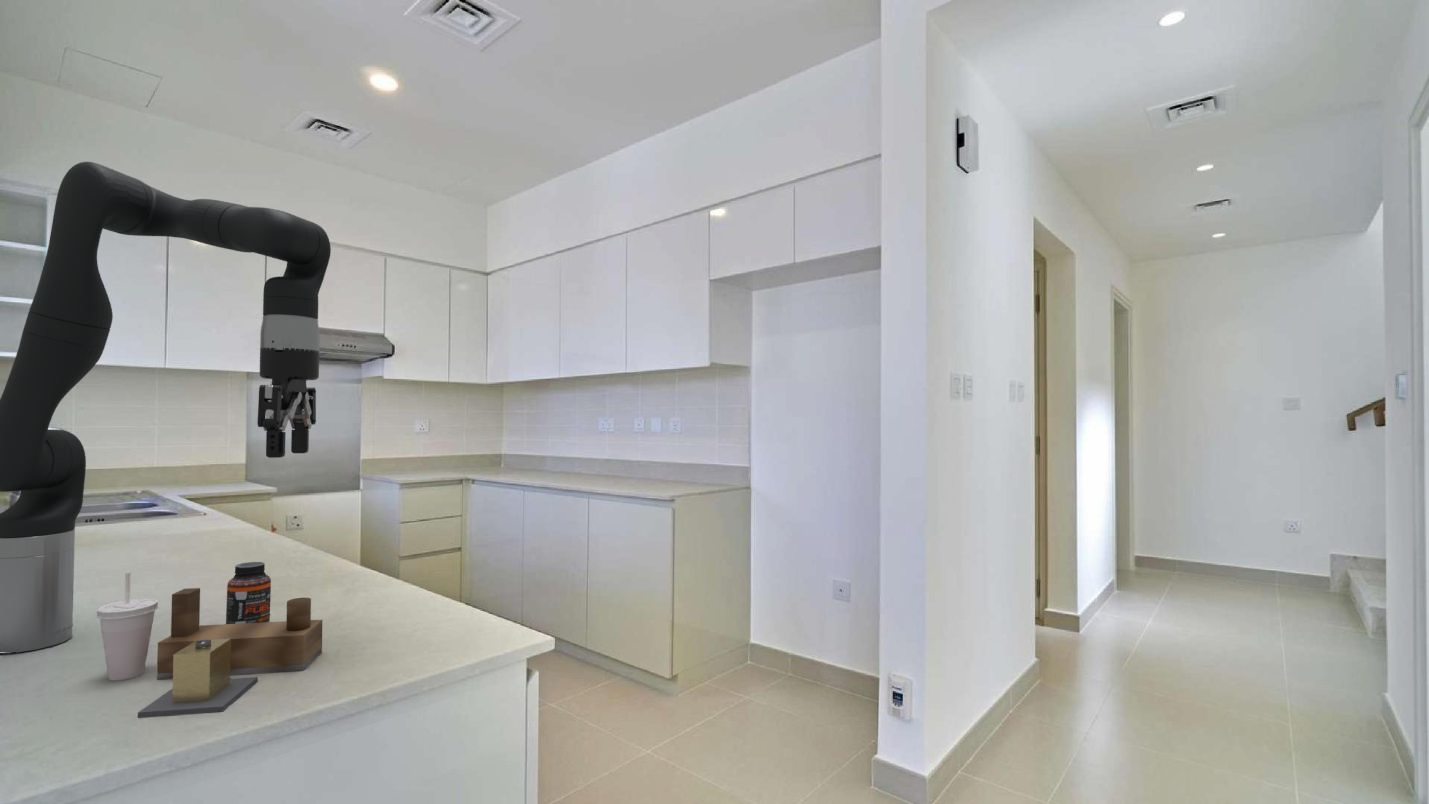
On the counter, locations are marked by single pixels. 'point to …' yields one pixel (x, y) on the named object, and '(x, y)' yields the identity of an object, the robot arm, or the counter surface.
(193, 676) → the brushed brass block
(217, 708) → the mat
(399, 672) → the counter surface
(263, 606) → the supplement bottle
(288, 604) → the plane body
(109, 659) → the smoothie
